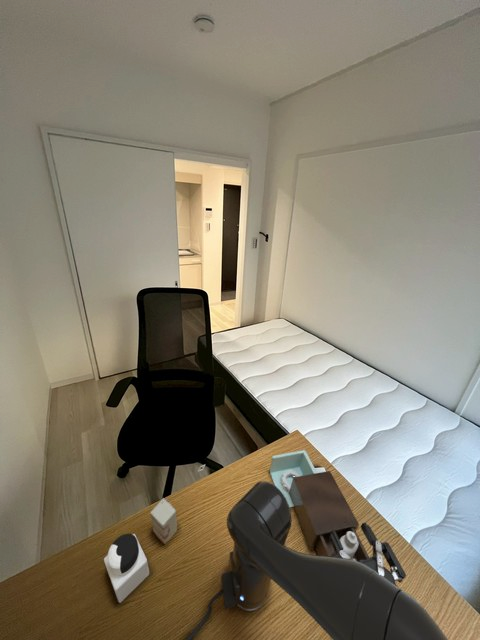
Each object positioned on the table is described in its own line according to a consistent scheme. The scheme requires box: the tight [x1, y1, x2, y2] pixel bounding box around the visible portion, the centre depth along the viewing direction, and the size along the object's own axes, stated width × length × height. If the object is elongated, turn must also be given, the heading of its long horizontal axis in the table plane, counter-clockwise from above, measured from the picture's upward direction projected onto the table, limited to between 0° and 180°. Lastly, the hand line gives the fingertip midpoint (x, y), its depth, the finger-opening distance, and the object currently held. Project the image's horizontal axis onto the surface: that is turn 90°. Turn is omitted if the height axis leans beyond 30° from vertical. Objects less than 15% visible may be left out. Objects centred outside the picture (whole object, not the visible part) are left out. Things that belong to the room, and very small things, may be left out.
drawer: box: [315, 527, 370, 562], centre depth 61 cm, size 18×11×6 cm, turn 12°
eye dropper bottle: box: [331, 531, 359, 557], centre depth 60 cm, size 4×6×12 cm
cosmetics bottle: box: [150, 497, 178, 546], centre depth 64 cm, size 5×4×10 cm
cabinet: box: [289, 470, 360, 552], centre depth 71 cm, size 15×13×8 cm
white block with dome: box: [103, 533, 150, 604], centre depth 56 cm, size 7×7×12 cm
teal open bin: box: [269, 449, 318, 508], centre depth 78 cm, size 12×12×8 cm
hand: (347, 528), depth 59 cm, fingers open, 8 cm apart
